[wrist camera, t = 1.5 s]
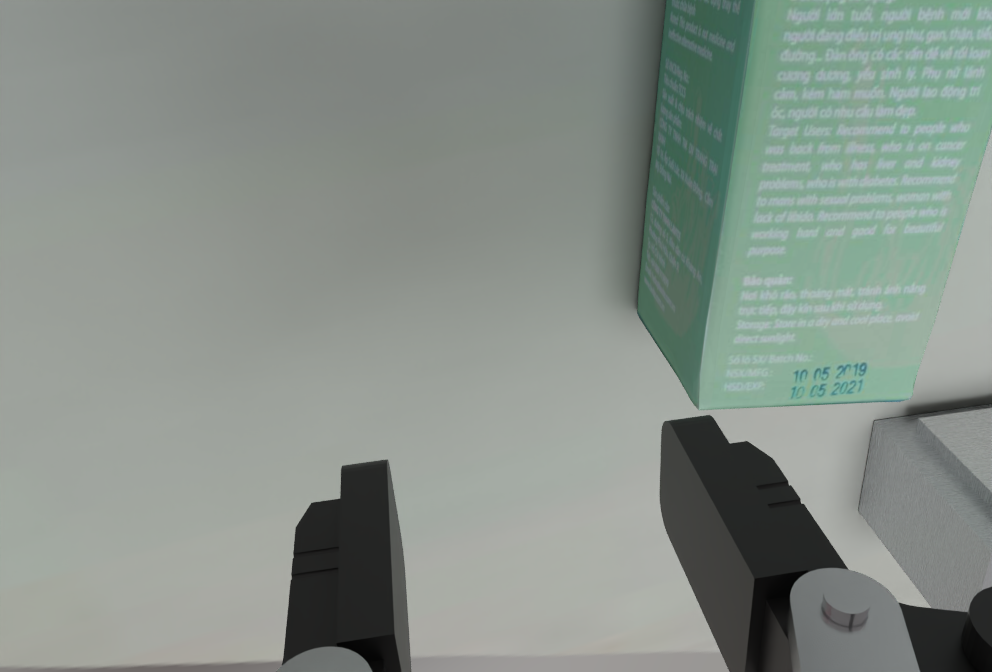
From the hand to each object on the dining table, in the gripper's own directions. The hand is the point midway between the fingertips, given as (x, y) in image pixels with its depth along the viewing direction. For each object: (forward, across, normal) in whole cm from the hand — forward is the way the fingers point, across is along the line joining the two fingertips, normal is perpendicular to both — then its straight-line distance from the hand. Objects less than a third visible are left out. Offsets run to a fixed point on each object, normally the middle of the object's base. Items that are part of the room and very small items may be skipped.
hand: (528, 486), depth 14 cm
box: (+18, -11, 0) cm, 21 cm away
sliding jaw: (+17, -23, +16) cm, 33 cm away
